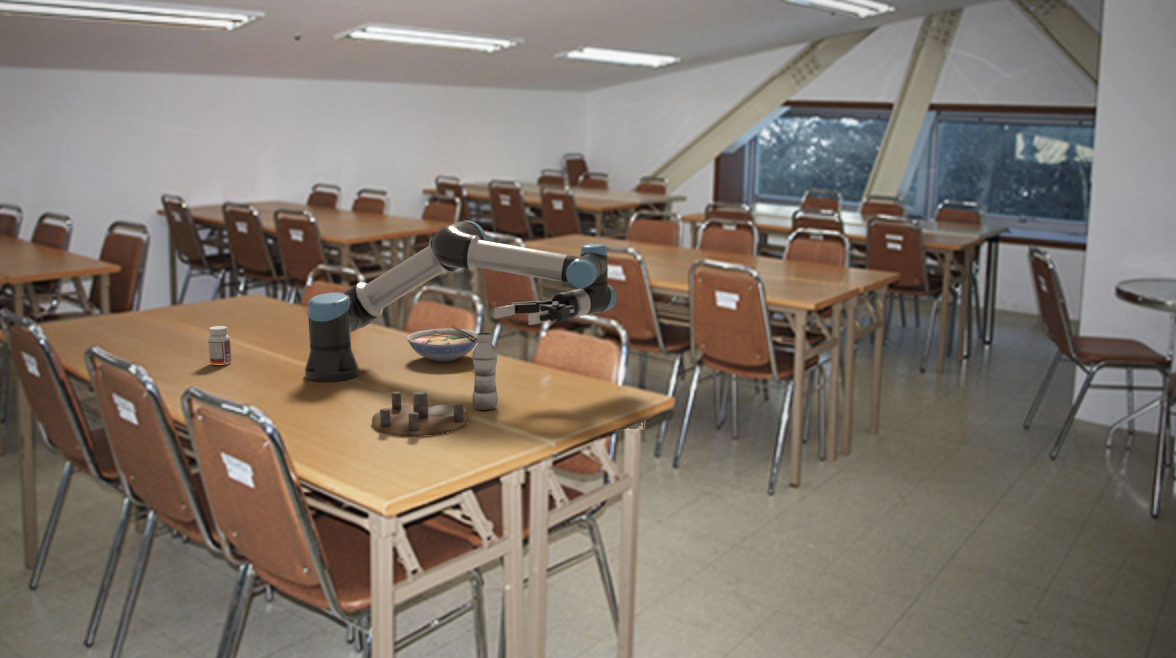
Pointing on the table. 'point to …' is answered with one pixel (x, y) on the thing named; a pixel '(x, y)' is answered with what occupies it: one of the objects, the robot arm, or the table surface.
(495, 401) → the plastic bottle
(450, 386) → the table surface
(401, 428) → the board
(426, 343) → the ramen bowl
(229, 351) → the pill bottle
